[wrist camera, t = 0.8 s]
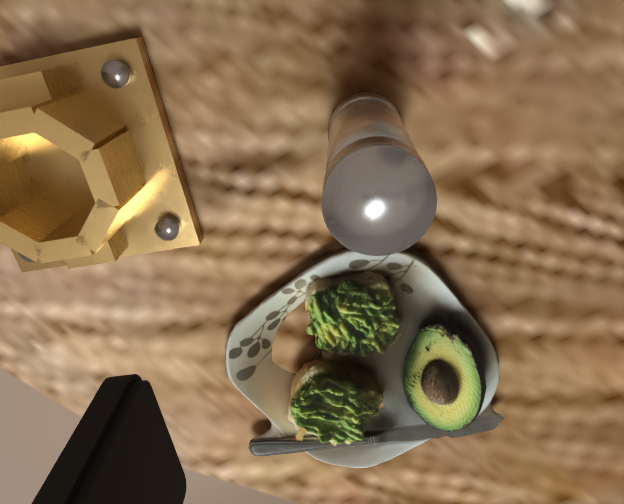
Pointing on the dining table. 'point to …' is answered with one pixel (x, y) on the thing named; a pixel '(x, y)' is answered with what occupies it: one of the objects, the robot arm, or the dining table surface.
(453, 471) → the dining table surface
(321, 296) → the avocado toast plate
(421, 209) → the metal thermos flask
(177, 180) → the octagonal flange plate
